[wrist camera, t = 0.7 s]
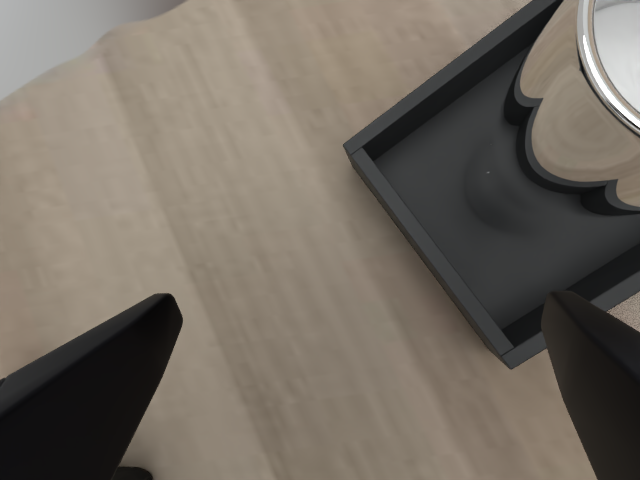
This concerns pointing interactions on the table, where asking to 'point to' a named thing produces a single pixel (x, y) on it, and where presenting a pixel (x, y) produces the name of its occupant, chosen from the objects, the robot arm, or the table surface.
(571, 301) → the robot arm
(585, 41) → the metal tumbler
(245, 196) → the table surface
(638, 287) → the bin
